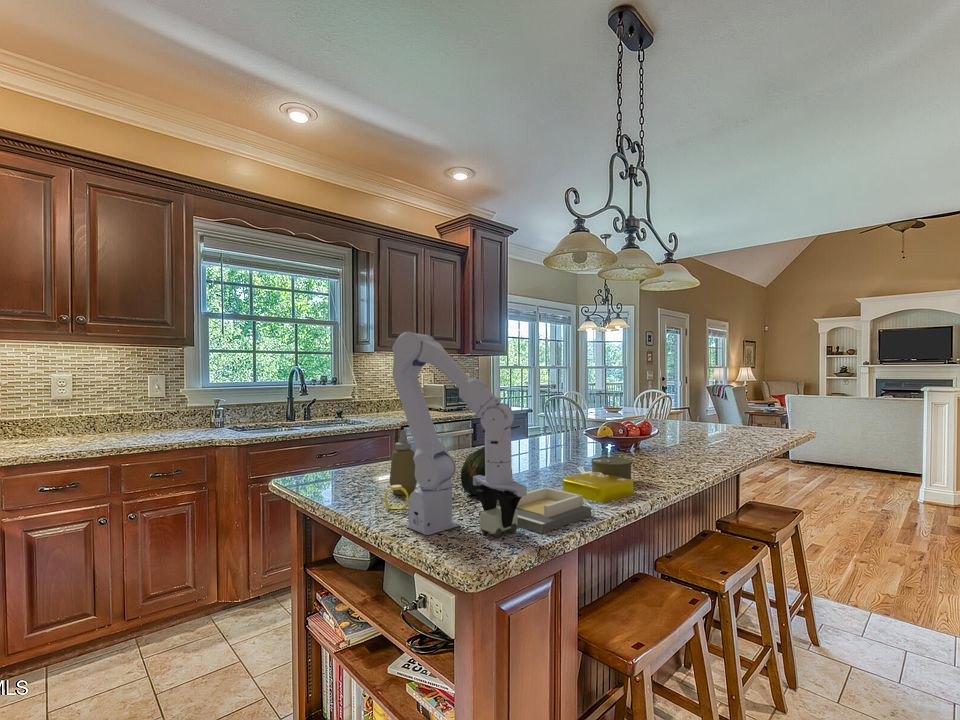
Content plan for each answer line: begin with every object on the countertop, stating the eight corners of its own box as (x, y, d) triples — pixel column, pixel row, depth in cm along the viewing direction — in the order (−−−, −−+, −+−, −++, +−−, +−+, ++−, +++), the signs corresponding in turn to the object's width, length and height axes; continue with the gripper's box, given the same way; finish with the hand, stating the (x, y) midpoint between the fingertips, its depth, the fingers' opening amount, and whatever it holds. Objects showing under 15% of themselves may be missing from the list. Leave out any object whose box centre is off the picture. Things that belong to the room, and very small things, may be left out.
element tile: (559, 493, 135) (559, 476, 135) (594, 485, 144) (593, 469, 144) (602, 505, 123) (601, 486, 123) (636, 495, 132) (636, 478, 132)
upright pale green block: (494, 539, 98) (494, 517, 98) (480, 534, 101) (480, 512, 101) (517, 531, 102) (517, 510, 102) (503, 526, 106) (503, 505, 106)
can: (636, 487, 140) (635, 464, 140) (594, 487, 141) (594, 464, 141) (627, 478, 152) (626, 457, 152) (589, 478, 153) (588, 456, 153)
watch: (384, 512, 119) (382, 488, 119) (386, 508, 122) (384, 485, 122) (408, 509, 119) (406, 486, 119) (409, 506, 122) (407, 483, 122)
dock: (542, 534, 100) (542, 512, 101) (490, 517, 112) (490, 498, 112) (591, 515, 113) (590, 496, 113) (539, 502, 124) (539, 485, 125)
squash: (444, 472, 137) (468, 437, 131) (482, 467, 147) (506, 434, 141) (468, 513, 129) (494, 477, 122) (506, 504, 139) (532, 471, 132)
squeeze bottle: (392, 489, 140) (392, 428, 141) (419, 489, 140) (419, 428, 140) (386, 496, 132) (385, 432, 133) (415, 496, 132) (414, 432, 132)
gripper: (536, 462, 99) (536, 527, 99) (488, 454, 110) (489, 512, 110) (512, 467, 95) (513, 535, 94) (465, 457, 105) (466, 519, 105)
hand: (499, 523), depth 102 cm, fingers closed on upright pale green block, 4 cm apart
